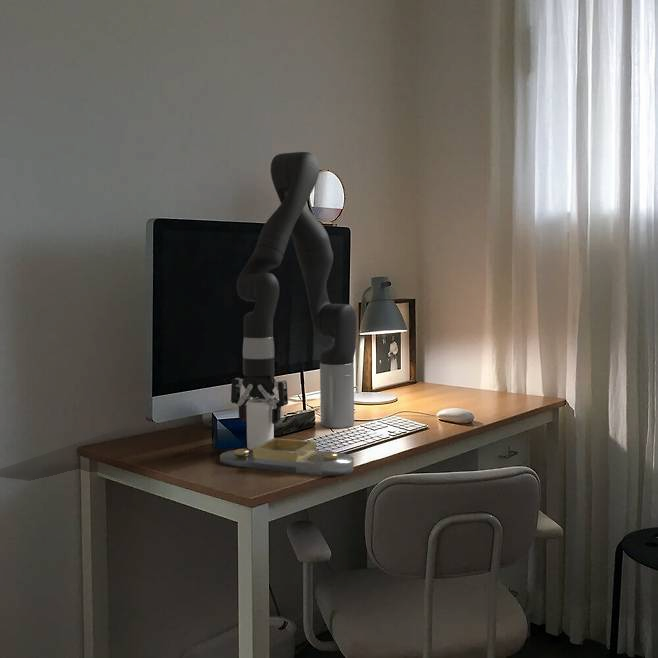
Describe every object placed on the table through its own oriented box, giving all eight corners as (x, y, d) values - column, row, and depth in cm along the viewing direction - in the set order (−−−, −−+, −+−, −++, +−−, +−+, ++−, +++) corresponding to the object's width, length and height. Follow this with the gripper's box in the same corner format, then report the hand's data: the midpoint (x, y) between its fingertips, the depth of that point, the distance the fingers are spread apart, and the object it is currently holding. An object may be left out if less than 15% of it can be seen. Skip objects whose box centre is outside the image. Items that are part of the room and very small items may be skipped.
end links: (211, 463, 174) (210, 444, 173) (234, 452, 184) (234, 434, 183) (343, 478, 162) (342, 457, 161) (360, 465, 171) (360, 445, 171)
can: (274, 444, 191) (273, 396, 189) (273, 451, 184) (272, 401, 183) (248, 445, 190) (247, 397, 189) (246, 451, 184) (245, 402, 183)
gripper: (292, 355, 186) (292, 421, 187) (240, 352, 191) (241, 417, 193) (278, 358, 179) (279, 427, 180) (224, 356, 184) (225, 423, 186)
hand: (259, 422), depth 186 cm, fingers open, 8 cm apart
